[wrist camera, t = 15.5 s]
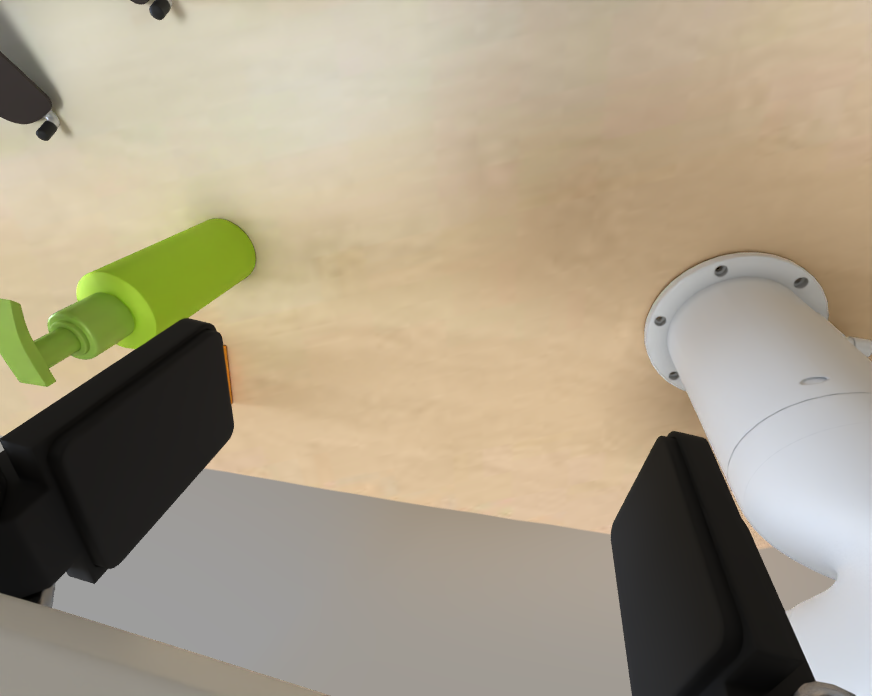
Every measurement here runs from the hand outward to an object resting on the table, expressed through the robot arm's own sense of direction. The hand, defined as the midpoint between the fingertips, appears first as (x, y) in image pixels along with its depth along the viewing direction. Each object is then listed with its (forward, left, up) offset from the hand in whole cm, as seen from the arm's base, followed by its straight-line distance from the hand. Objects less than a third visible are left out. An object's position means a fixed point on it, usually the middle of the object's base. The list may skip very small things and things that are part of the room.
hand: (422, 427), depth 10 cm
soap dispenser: (+24, +9, -29) cm, 39 cm away
